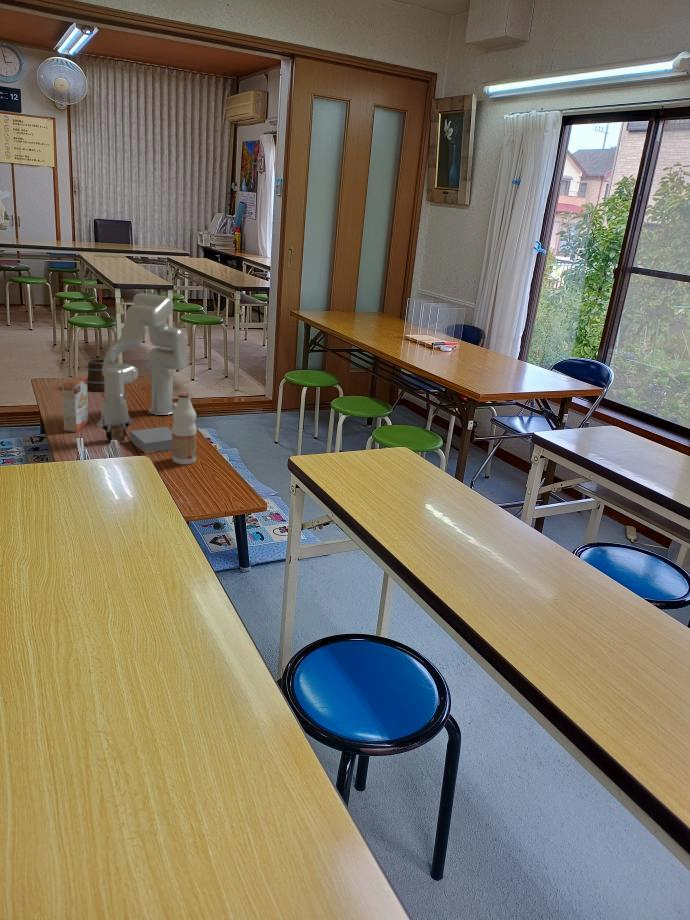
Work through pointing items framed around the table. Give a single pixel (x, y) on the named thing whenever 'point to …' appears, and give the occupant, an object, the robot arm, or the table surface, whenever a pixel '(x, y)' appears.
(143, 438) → the grey box
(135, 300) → the robot arm
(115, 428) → the walnut block
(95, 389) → the mug
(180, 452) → the fruit juice
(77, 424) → the cracker box
